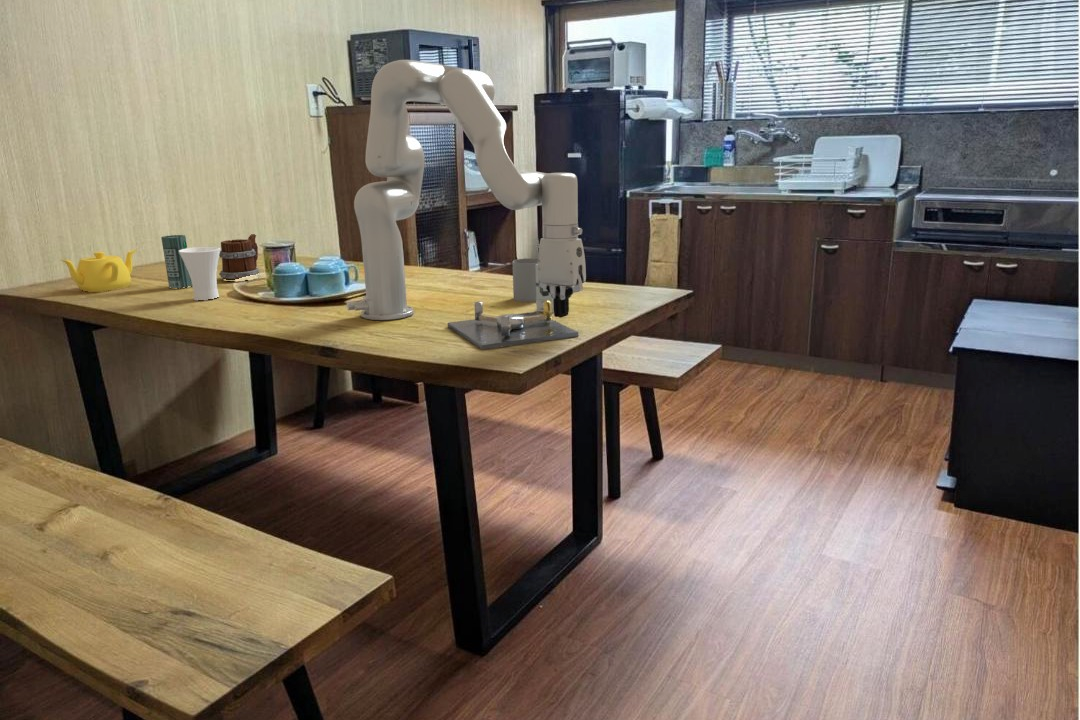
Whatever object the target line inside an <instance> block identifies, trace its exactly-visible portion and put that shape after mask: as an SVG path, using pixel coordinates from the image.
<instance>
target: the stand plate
mask: <svg viewBox="0 0 1080 720" xmlns="http://www.w3.org/2000/svg"><path fill="white" fill-rule="evenodd" d="M519 314H520V315H523V316H524V317H526V316H534V315H542V314H541V313H539V312H538V311H532V312H524V313H523V312H522V313H519ZM447 328H448V329H450V330H452V331H453V332H454V333H456V334H457V335H459V336H460V337H462V338H463V339H465V340H466V341H468V342H470V343H471V342H472V343H471V344H472V345H474V344H475V345H474V346H476V347H477V346H478V347H477V348H479V349H480V348H481V350H482V349H486V350H489V349H488V348H493V349H496V348H495V347H500V348H502V347H501V346H507V347H511V346H510V345H514V346H519V345H518V344H521V345H526V344H528V345H529V344H534V343H541V342H549V341H554V340H555V341H556V340H562V339H569V338H570V339H571V338H576V337H579V331H577V330H575V329H573V328H571V327H569V326H566V325H564V324H562V323H561V322H558V321H557V320H554V319H552V320H550V321H545V320H542V321H534V322H526V323H524V327H522V328H518V329H511V331H510V335H509V336H502V335H501V328H498V327H497V322H491V321H484V320H481V321H477V320H475V318H474V319H469V320H468V319H467V320H459V321H451V322H447Z"/></svg>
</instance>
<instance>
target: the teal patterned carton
mask: <svg viewBox="0 0 1080 720" xmlns="http://www.w3.org/2000/svg"><path fill="white" fill-rule="evenodd" d="M161 244H162V251H163V256H164V262H165V269H166V276H167V282H168V283H167V284H168V288H169V287H171V288H183V287H188V286H192V281H191V278H190V275H189V272H188V270H187V268H186V265H185V263H184V261H183V259H182V257H181V255H180V253H179V250H182V249H186V248H188V245H187V237H186V235H184V234H172V235H165V236H164V235H163V236H161ZM192 287H193V286H192Z"/></svg>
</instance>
